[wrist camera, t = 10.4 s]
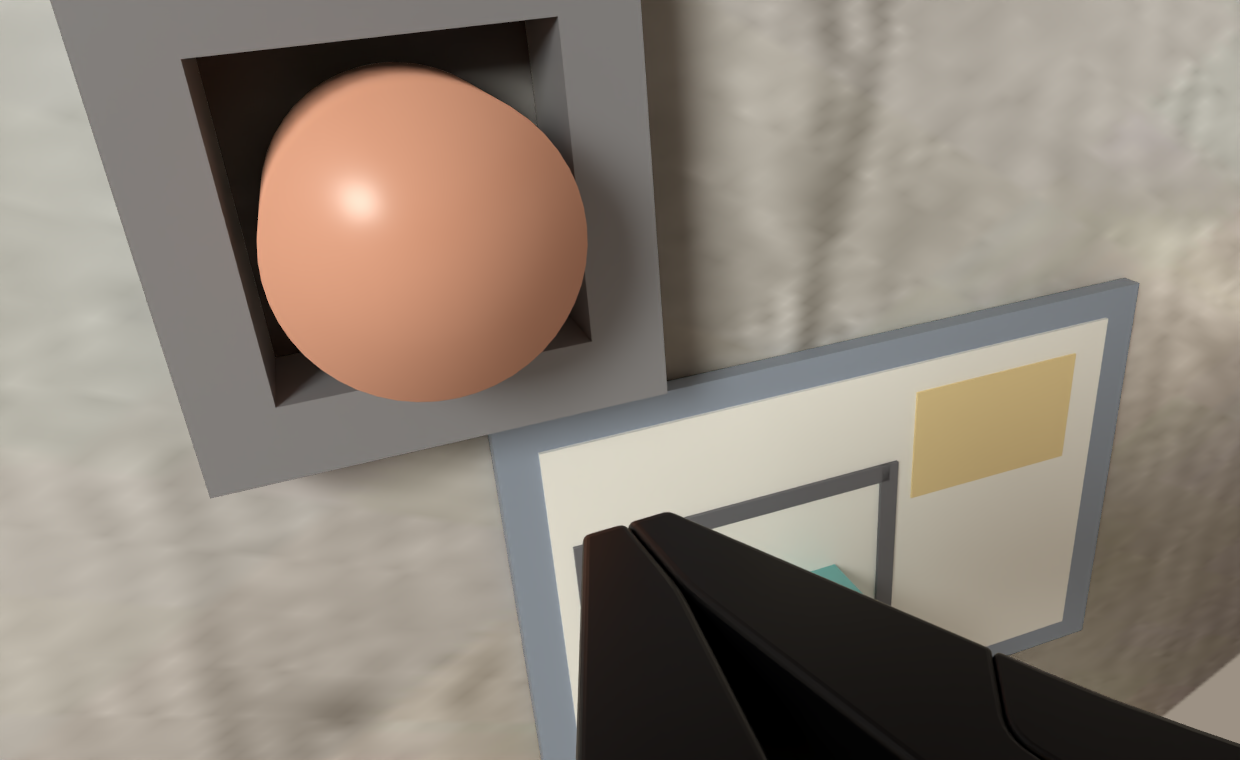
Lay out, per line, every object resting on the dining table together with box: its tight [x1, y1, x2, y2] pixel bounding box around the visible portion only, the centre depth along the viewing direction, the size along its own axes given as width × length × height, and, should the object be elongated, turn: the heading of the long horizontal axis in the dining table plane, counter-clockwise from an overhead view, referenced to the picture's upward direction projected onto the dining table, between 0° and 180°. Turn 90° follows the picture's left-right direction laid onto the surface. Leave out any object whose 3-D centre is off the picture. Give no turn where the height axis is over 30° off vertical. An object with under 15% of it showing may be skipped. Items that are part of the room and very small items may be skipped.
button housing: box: [50, 0, 668, 498], centre depth 17 cm, size 9×9×2 cm
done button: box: [257, 62, 588, 402], centre depth 16 cm, size 5×5×4 cm
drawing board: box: [488, 278, 1139, 760], centre depth 26 cm, size 18×12×1 cm, turn 96°
